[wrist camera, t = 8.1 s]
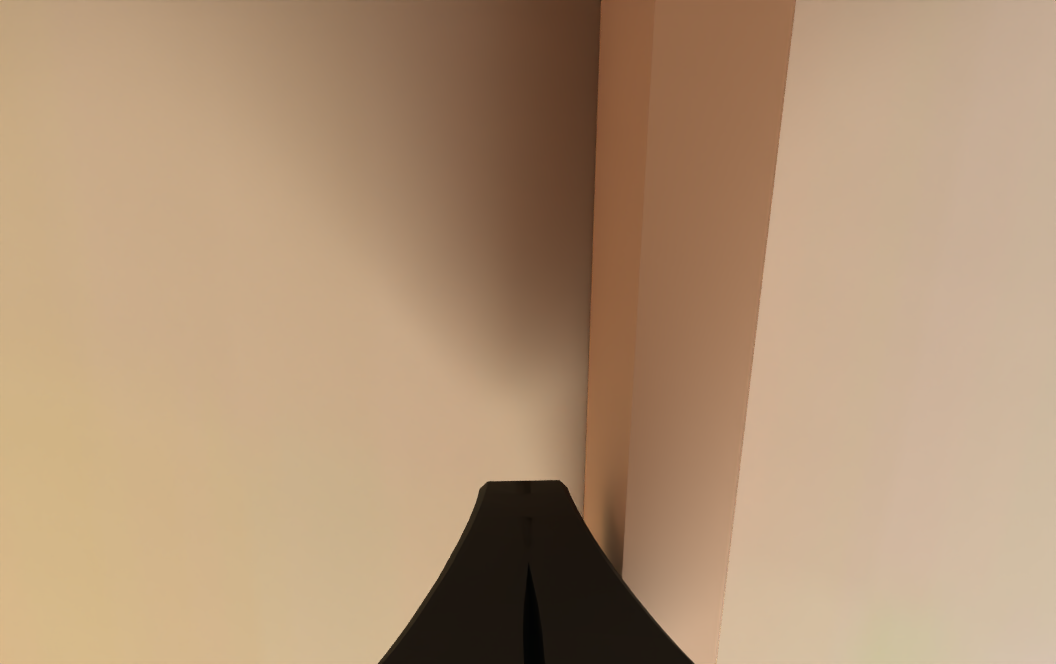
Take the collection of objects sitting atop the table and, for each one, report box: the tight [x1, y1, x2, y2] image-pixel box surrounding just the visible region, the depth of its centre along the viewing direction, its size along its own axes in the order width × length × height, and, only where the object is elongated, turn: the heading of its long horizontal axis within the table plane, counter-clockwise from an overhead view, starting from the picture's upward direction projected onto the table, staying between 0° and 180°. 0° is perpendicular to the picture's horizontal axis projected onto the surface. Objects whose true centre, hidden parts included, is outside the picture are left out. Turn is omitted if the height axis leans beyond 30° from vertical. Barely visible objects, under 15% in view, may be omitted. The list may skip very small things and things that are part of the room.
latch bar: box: [584, 0, 796, 664], centre depth 9 cm, size 16×2×4 cm, turn 0°
